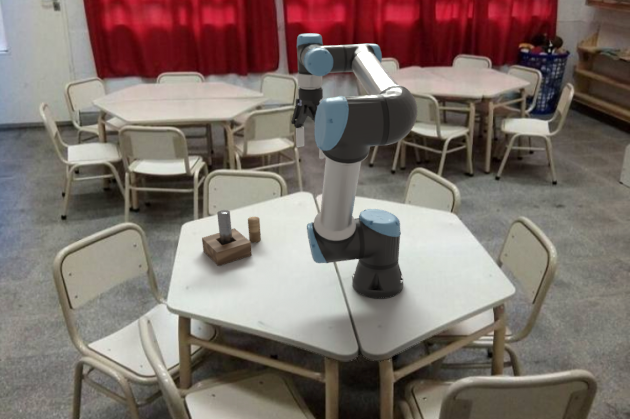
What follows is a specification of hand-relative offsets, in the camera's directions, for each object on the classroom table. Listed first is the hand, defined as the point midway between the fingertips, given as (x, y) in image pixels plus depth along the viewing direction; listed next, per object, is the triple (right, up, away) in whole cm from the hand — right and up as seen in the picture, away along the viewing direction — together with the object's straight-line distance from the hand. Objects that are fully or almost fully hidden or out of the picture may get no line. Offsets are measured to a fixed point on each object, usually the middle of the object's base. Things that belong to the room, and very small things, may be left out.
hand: (311, 152), depth 178 cm
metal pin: (-28, -32, +5) cm, 43 cm away
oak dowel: (-20, -29, +13) cm, 38 cm away
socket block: (-28, -33, +5) cm, 44 cm away
